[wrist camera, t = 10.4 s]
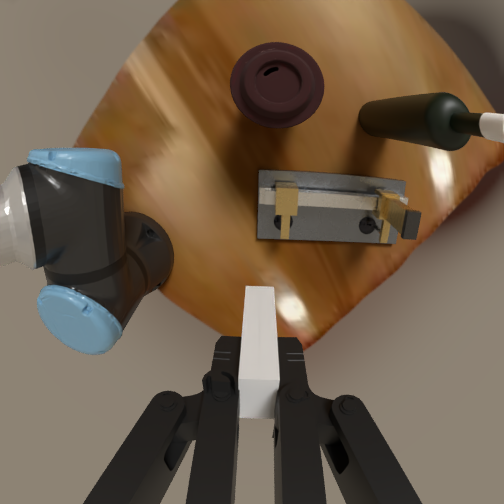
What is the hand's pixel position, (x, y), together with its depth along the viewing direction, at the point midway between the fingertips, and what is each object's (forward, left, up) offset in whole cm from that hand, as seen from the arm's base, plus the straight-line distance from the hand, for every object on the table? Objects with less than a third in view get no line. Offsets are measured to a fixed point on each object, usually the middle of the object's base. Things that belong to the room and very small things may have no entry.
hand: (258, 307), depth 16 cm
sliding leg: (+19, -2, -30) cm, 36 cm away
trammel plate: (+11, -3, -32) cm, 34 cm away
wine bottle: (+17, +12, -32) cm, 38 cm away
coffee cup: (+1, +14, -32) cm, 35 cm away
